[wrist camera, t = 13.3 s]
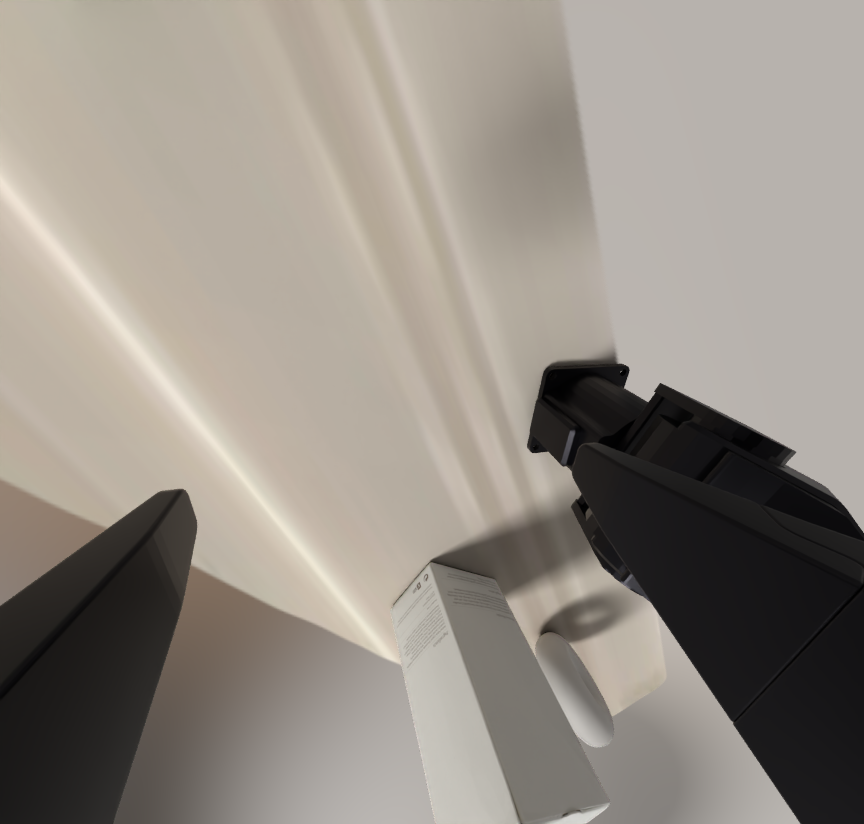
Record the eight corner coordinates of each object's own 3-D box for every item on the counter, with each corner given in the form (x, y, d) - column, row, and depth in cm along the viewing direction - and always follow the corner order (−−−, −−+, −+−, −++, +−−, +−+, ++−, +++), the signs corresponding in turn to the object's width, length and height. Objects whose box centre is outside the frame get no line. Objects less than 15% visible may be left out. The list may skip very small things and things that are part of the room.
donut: (515, 630, 39) (570, 746, 31) (542, 612, 39) (604, 724, 30) (550, 657, 44) (604, 762, 36) (573, 642, 44) (634, 744, 36)
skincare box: (387, 607, 31) (437, 893, 18) (432, 555, 30) (522, 829, 17) (458, 621, 35) (541, 865, 22) (501, 576, 34) (618, 811, 21)
